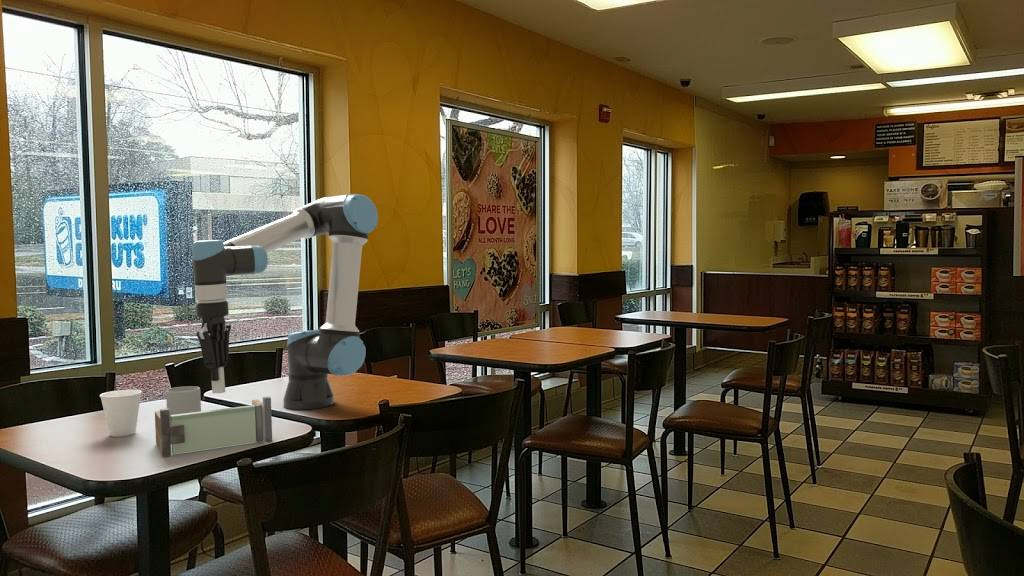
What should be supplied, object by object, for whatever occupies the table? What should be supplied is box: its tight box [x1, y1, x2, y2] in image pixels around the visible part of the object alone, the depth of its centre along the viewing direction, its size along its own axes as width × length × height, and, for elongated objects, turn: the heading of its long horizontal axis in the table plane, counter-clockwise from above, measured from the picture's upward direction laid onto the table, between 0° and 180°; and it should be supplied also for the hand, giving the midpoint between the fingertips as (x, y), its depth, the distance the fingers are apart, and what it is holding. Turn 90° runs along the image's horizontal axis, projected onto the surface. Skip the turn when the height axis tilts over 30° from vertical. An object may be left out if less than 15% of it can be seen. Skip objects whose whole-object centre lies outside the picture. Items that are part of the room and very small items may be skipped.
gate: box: [170, 404, 264, 455], centre depth 182 cm, size 21×2×9 cm, turn 122°
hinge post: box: [251, 396, 273, 443], centre depth 194 cm, size 2×14×11 cm, turn 32°
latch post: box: [154, 407, 185, 458], centre depth 181 cm, size 5×15×11 cm, turn 32°
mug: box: [165, 385, 202, 427], centre depth 204 cm, size 12×8×11 cm
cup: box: [99, 389, 143, 438], centre depth 198 cm, size 10×10×11 cm
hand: (218, 392), depth 193 cm, fingers closed
